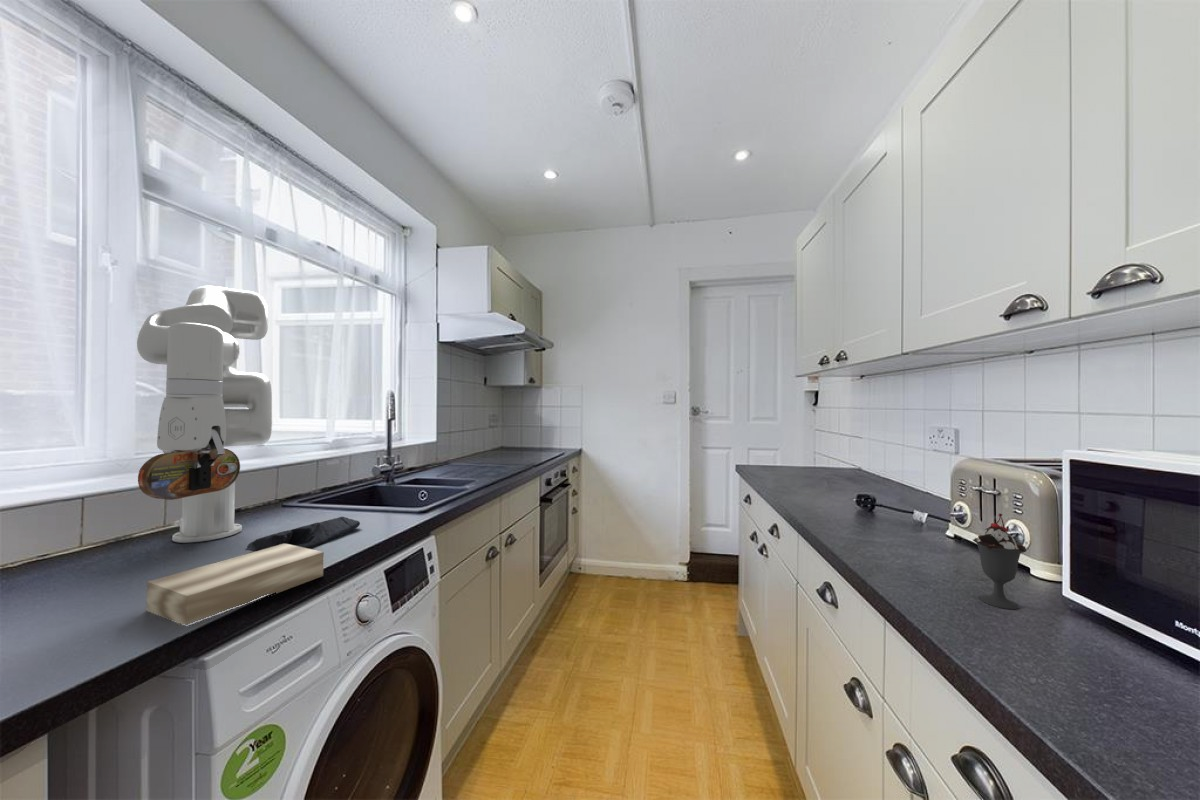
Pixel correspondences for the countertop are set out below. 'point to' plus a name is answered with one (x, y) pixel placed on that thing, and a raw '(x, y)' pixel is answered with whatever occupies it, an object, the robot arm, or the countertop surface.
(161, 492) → the tin
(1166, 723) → the countertop surface
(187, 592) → the birch block
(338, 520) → the dark slate chunk
